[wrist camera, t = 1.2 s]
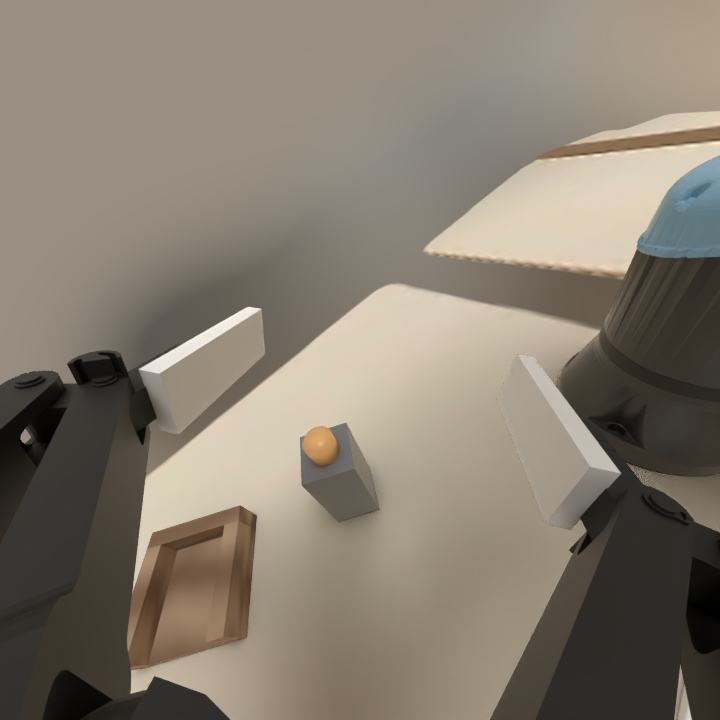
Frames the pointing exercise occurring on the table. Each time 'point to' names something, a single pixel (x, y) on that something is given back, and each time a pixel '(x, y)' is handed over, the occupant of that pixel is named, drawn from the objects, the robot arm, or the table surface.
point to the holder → (192, 588)
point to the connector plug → (337, 472)
